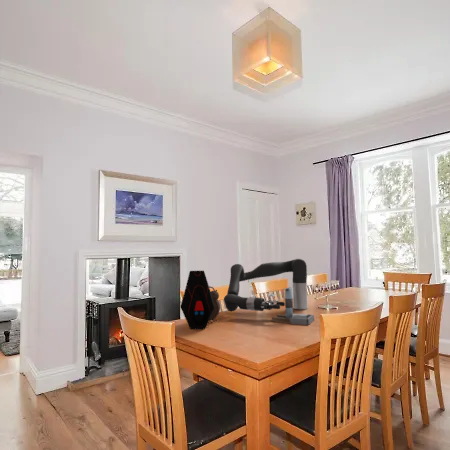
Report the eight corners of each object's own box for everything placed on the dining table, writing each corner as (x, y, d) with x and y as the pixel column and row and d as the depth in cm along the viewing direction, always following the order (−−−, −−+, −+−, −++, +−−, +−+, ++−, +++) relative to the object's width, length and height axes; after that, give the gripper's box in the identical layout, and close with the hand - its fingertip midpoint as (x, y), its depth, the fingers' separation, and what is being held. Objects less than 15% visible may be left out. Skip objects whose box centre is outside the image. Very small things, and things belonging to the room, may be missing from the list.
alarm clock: (221, 320, 195) (220, 285, 196) (219, 323, 188) (218, 286, 189) (196, 320, 197) (195, 285, 199) (193, 323, 190) (192, 287, 191)
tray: (296, 318, 196) (296, 313, 196) (314, 320, 191) (314, 314, 191) (290, 323, 184) (289, 317, 184) (308, 325, 179) (308, 319, 180)
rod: (287, 319, 194) (286, 287, 196) (294, 320, 193) (293, 287, 194) (284, 321, 189) (283, 288, 190) (291, 322, 187) (290, 288, 188)
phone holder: (275, 291, 249) (272, 293, 238) (276, 304, 248) (273, 307, 237) (251, 290, 254) (247, 292, 243) (252, 303, 254) (248, 306, 243)
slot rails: (277, 317, 199) (277, 314, 200) (296, 319, 194) (296, 315, 195) (271, 321, 190) (271, 317, 190) (290, 322, 185) (290, 319, 185)
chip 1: (294, 320, 192) (293, 313, 192) (301, 321, 190) (300, 313, 190) (292, 322, 188) (291, 314, 188) (299, 322, 186) (299, 315, 186)
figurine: (217, 326, 182) (216, 269, 184) (215, 329, 174) (214, 270, 176) (183, 326, 183) (182, 270, 186) (180, 329, 176) (179, 271, 178)
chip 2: (301, 321, 190) (300, 313, 190) (308, 321, 188) (308, 314, 188) (299, 322, 186) (299, 315, 187) (306, 323, 184) (306, 315, 185)
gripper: (260, 308, 206) (286, 309, 198) (251, 313, 193) (278, 315, 185) (259, 295, 206) (285, 296, 198) (250, 299, 193) (277, 301, 186)
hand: (282, 305), depth 192 cm, fingers open, 8 cm apart
